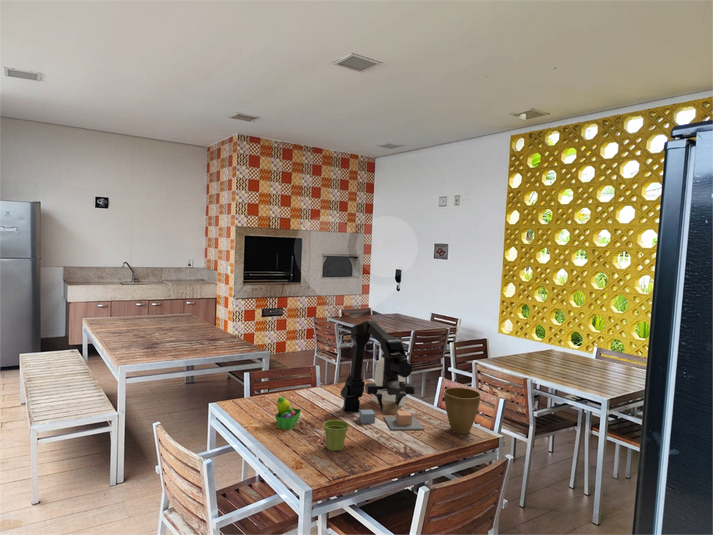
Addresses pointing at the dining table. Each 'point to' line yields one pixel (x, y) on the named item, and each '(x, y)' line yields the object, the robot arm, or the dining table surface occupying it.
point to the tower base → (403, 427)
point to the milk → (379, 381)
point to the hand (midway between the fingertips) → (388, 410)
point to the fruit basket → (286, 414)
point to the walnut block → (389, 408)
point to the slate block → (367, 416)
